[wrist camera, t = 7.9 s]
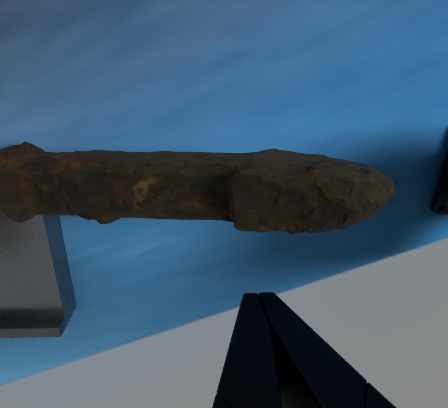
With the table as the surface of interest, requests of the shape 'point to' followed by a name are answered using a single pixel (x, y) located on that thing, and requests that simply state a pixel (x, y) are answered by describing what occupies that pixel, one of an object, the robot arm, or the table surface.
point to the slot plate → (34, 278)
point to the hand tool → (192, 187)
